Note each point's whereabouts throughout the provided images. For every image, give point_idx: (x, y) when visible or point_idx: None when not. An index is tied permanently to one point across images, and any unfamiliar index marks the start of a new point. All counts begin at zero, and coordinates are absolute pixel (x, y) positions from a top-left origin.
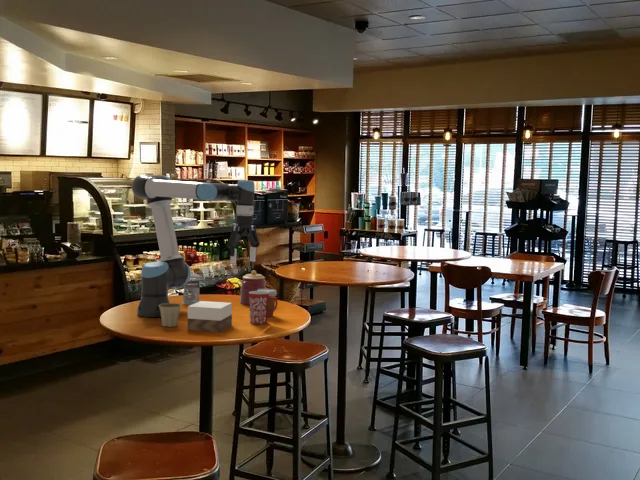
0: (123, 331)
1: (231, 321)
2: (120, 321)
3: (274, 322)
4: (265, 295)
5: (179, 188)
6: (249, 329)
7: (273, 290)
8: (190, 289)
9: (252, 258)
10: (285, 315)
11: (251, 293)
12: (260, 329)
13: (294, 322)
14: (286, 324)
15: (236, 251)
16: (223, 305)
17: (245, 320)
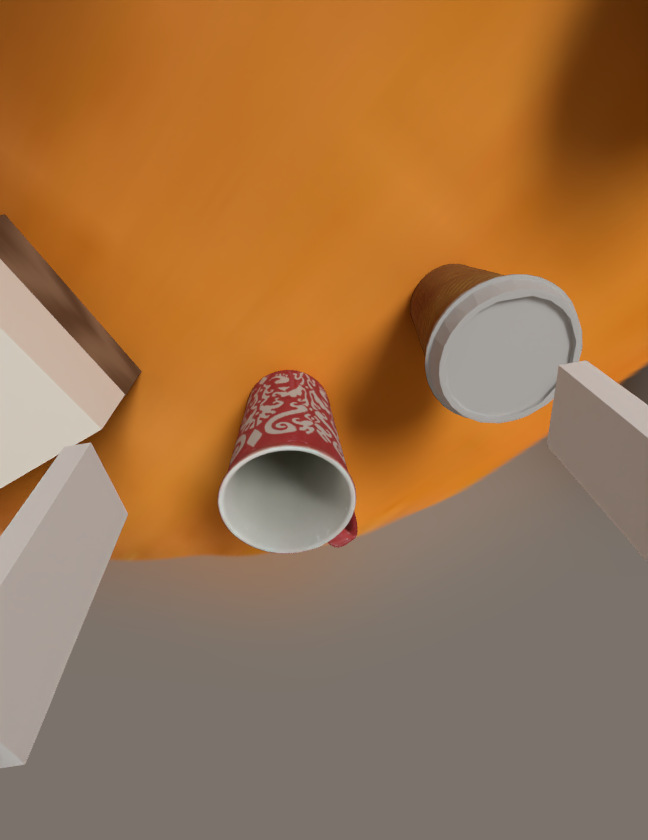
0: None
1: (132, 382)
2: None
3: (351, 438)
4: (285, 543)
5: None
6: (166, 473)
7: (556, 374)
8: None
9: (578, 440)
10: None
11: (218, 505)
12: (206, 495)
13: (414, 482)
14: (358, 490)
15: (45, 703)
16: (7, 464)
17: (275, 324)
